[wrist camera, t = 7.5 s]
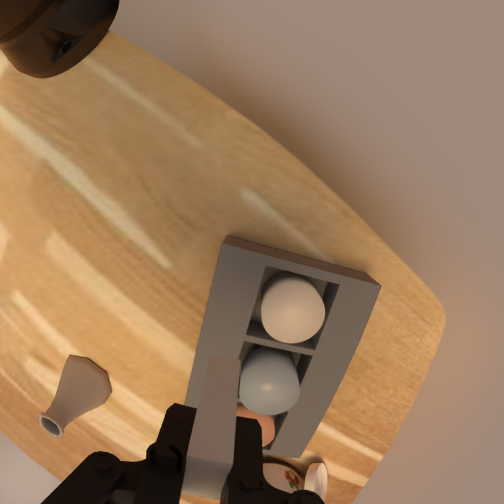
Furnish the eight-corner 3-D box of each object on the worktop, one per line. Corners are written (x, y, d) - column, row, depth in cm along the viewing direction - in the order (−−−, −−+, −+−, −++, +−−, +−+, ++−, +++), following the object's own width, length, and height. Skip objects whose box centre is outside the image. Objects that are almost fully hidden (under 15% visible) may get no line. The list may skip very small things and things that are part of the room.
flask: (114, 369, 32) (77, 421, 22) (111, 409, 33) (80, 460, 24) (64, 345, 32) (19, 388, 22) (64, 387, 33) (28, 431, 23)
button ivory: (269, 264, 28) (271, 277, 24) (323, 279, 28) (333, 293, 24) (254, 316, 29) (254, 335, 25) (306, 328, 29) (312, 348, 25)
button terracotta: (232, 387, 31) (229, 411, 27) (279, 397, 31) (281, 421, 27) (222, 420, 32) (218, 443, 28) (265, 428, 32) (266, 452, 28)
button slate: (249, 340, 28) (248, 363, 24) (302, 352, 28) (308, 375, 24) (235, 383, 29) (233, 408, 25) (285, 393, 29) (288, 419, 25)
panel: (226, 235, 29) (222, 243, 25) (366, 273, 29) (381, 285, 25) (184, 413, 33) (178, 435, 29) (296, 436, 34) (299, 458, 30)
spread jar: (224, 469, 35) (217, 535, 24) (286, 434, 34) (293, 508, 22) (280, 498, 37) (284, 556, 26) (339, 468, 35) (355, 529, 24)
